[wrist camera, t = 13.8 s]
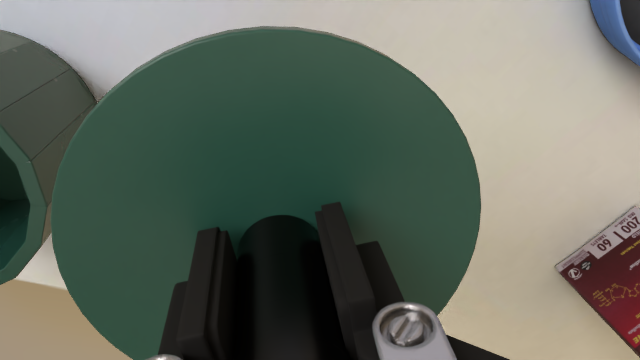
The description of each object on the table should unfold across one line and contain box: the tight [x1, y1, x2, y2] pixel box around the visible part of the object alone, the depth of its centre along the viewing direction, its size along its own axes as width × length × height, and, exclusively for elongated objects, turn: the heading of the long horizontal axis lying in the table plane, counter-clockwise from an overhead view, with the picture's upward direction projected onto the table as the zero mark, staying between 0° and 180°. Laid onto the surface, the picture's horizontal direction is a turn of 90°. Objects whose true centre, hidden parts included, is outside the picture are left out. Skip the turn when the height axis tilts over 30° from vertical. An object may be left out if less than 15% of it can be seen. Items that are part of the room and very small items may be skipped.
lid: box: [50, 26, 481, 360], centre depth 11 cm, size 12×12×7 cm
